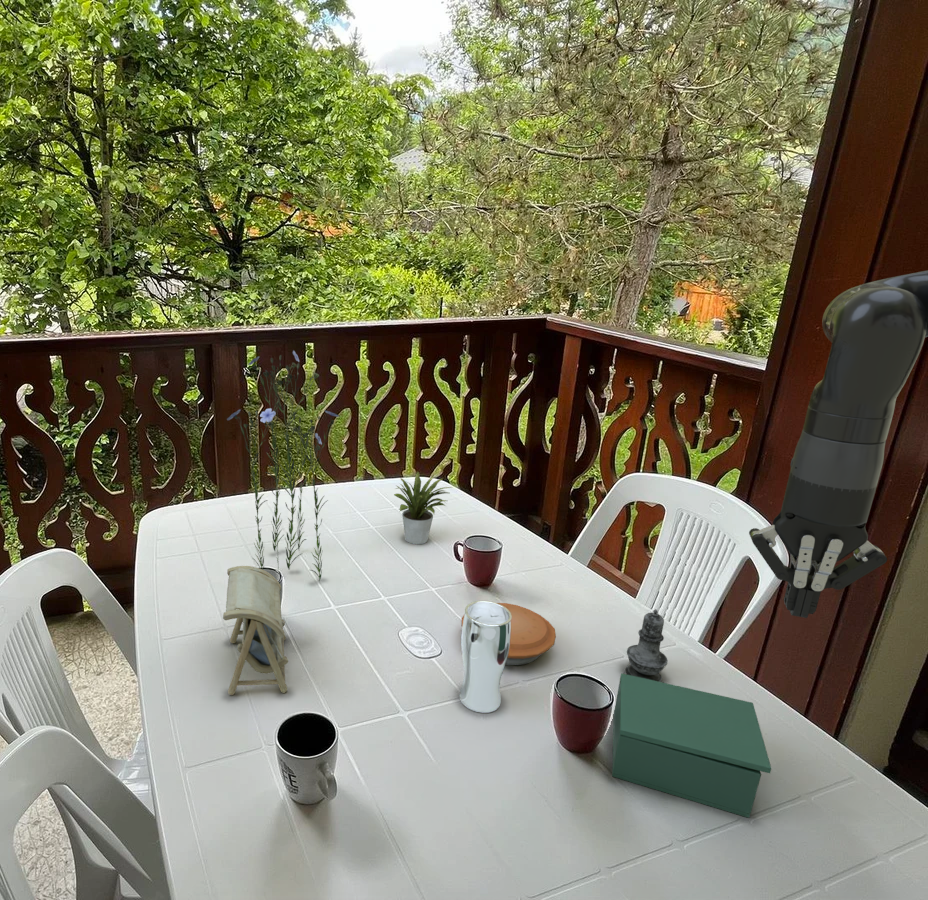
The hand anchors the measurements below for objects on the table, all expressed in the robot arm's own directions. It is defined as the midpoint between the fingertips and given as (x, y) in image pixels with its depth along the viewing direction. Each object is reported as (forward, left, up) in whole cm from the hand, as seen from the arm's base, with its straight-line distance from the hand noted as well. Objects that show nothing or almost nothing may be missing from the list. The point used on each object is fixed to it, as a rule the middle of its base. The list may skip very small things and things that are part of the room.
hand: (797, 613), depth 74 cm
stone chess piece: (-2, -21, -25) cm, 33 cm away
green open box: (+8, -5, -25) cm, 26 cm away
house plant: (+15, -75, -25) cm, 80 cm away
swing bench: (+58, -40, -25) cm, 74 cm away
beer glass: (+27, -23, -25) cm, 43 cm away
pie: (+16, -34, -25) cm, 45 cm away
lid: (+7, -5, -18) cm, 20 cm away
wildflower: (+46, -71, -25) cm, 88 cm away
